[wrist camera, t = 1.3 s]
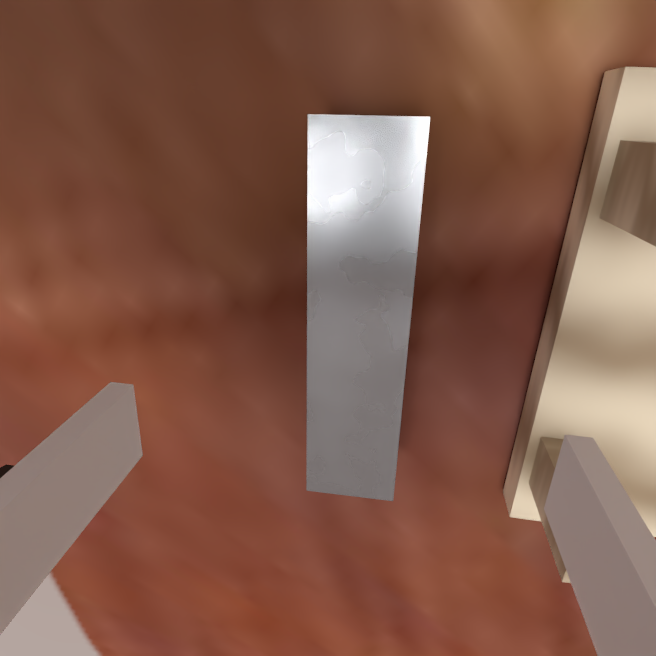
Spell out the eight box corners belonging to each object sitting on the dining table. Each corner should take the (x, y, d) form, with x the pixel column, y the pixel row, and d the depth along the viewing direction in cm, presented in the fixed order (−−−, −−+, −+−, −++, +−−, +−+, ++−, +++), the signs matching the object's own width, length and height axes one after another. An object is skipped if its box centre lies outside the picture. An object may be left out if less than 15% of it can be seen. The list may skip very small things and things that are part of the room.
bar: (325, 114, 22) (307, 114, 18) (425, 117, 21) (430, 116, 17) (320, 438, 29) (306, 490, 25) (394, 446, 29) (393, 500, 25)
